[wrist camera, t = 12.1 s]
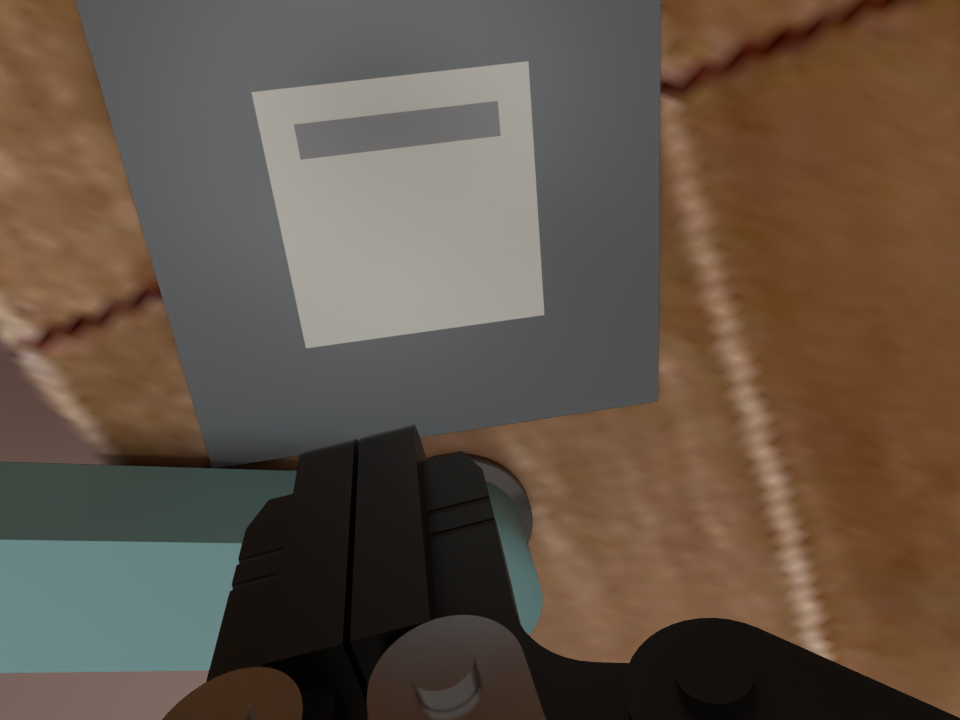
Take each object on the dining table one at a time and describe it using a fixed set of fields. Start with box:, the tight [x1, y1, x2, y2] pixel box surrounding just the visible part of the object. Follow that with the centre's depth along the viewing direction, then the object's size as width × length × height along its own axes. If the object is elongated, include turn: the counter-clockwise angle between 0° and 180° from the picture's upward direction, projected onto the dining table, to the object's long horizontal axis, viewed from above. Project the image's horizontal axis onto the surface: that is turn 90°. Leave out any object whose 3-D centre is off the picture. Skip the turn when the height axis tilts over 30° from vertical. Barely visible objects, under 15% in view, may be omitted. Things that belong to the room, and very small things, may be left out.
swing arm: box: [0, 462, 543, 673], centre depth 25 cm, size 5×20×4 cm, turn 83°
